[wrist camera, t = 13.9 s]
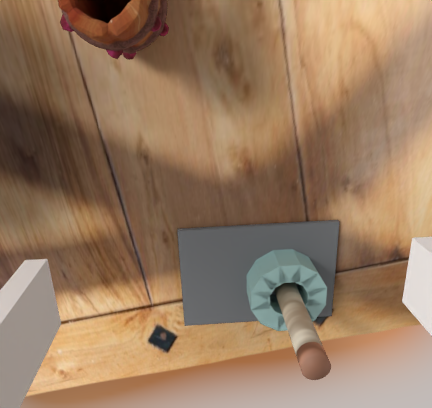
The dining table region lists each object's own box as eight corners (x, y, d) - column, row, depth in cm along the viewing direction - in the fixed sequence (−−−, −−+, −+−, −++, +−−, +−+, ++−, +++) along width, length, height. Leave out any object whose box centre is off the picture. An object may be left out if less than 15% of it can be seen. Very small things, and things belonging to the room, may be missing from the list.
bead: (246, 312, 52) (250, 332, 48) (246, 251, 49) (250, 267, 45) (314, 308, 53) (324, 327, 49) (318, 247, 49) (329, 263, 46)
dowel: (271, 290, 51) (300, 380, 37) (272, 272, 50) (303, 356, 36) (292, 290, 51) (328, 379, 37) (294, 272, 50) (332, 356, 36)
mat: (184, 322, 53) (184, 325, 52) (177, 228, 48) (177, 230, 47) (330, 313, 54) (331, 315, 53) (337, 219, 49) (339, 221, 48)
